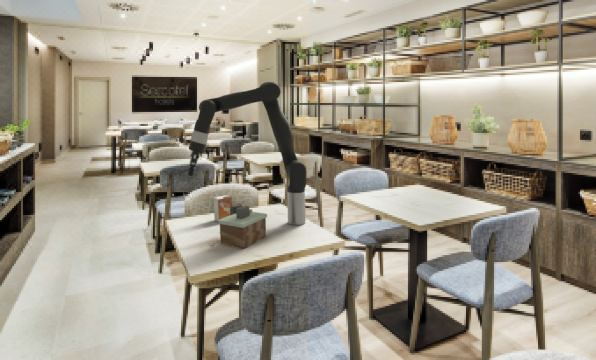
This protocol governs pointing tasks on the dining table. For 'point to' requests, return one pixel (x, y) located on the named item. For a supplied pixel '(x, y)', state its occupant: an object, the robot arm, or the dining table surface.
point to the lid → (242, 217)
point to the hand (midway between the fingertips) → (190, 174)
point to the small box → (220, 208)
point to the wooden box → (242, 232)
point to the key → (229, 203)
